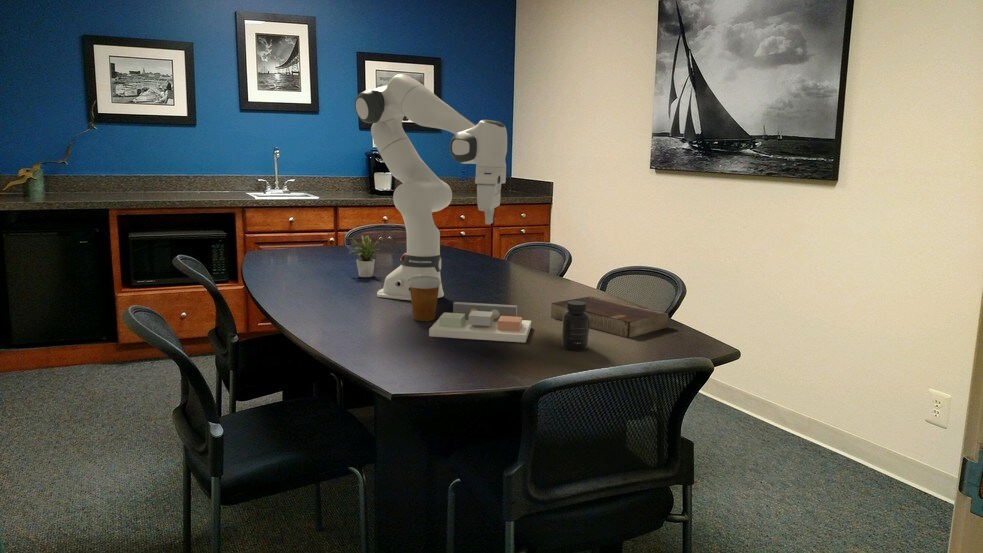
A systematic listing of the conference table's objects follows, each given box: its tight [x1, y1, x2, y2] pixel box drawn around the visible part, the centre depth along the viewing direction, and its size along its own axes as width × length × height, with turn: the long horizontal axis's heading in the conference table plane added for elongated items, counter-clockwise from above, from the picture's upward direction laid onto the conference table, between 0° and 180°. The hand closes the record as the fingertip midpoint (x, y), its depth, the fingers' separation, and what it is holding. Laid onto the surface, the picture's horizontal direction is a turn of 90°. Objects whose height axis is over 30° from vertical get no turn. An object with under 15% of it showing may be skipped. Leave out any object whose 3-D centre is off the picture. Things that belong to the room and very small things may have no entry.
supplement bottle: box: [561, 301, 590, 352], centre depth 182 cm, size 7×7×12 cm
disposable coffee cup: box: [408, 276, 442, 322], centre depth 209 cm, size 10×10×12 cm
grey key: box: [468, 311, 494, 326], centre depth 194 cm, size 6×6×2 cm
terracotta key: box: [497, 316, 523, 331], centre depth 194 cm, size 6×6×2 cm
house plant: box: [346, 235, 381, 278], centre depth 273 cm, size 14×14×16 cm
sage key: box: [438, 311, 465, 328], centre depth 196 cm, size 6×6×2 cm
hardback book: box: [550, 295, 670, 339], centre depth 211 cm, size 29×19×5 cm, turn 43°
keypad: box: [428, 301, 532, 343], centre depth 196 cm, size 26×16×6 cm, turn 82°
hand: (488, 223), depth 210 cm, fingers closed
